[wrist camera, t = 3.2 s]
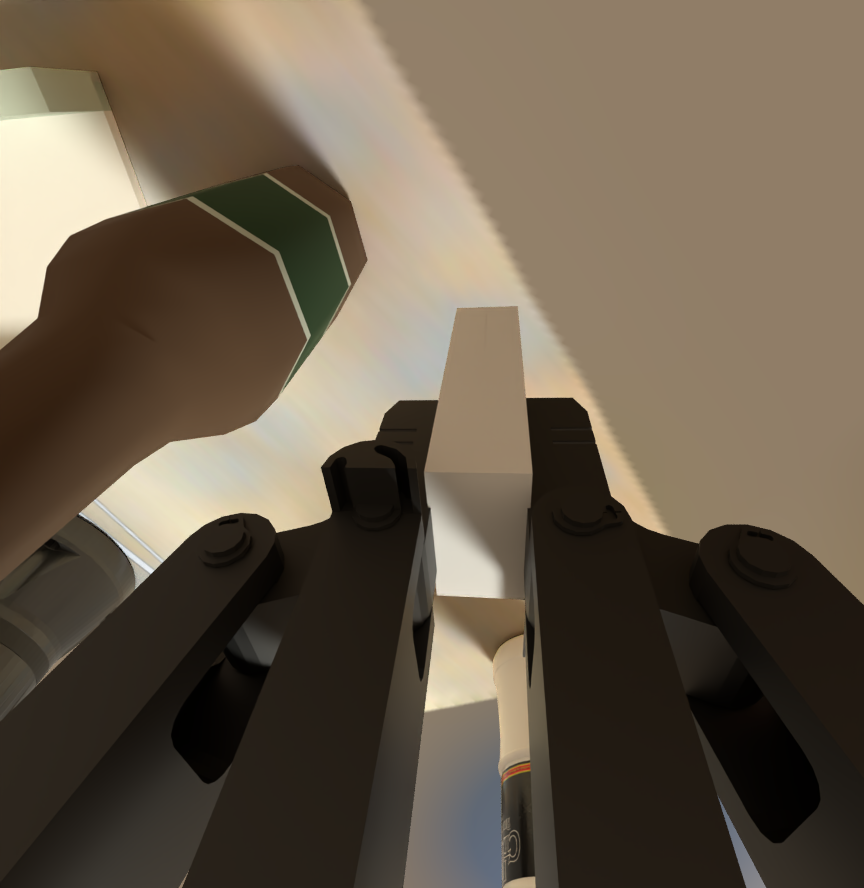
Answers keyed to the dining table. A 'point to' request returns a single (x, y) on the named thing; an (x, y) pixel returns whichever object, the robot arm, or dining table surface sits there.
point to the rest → (53, 177)
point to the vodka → (514, 766)
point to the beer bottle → (164, 337)
